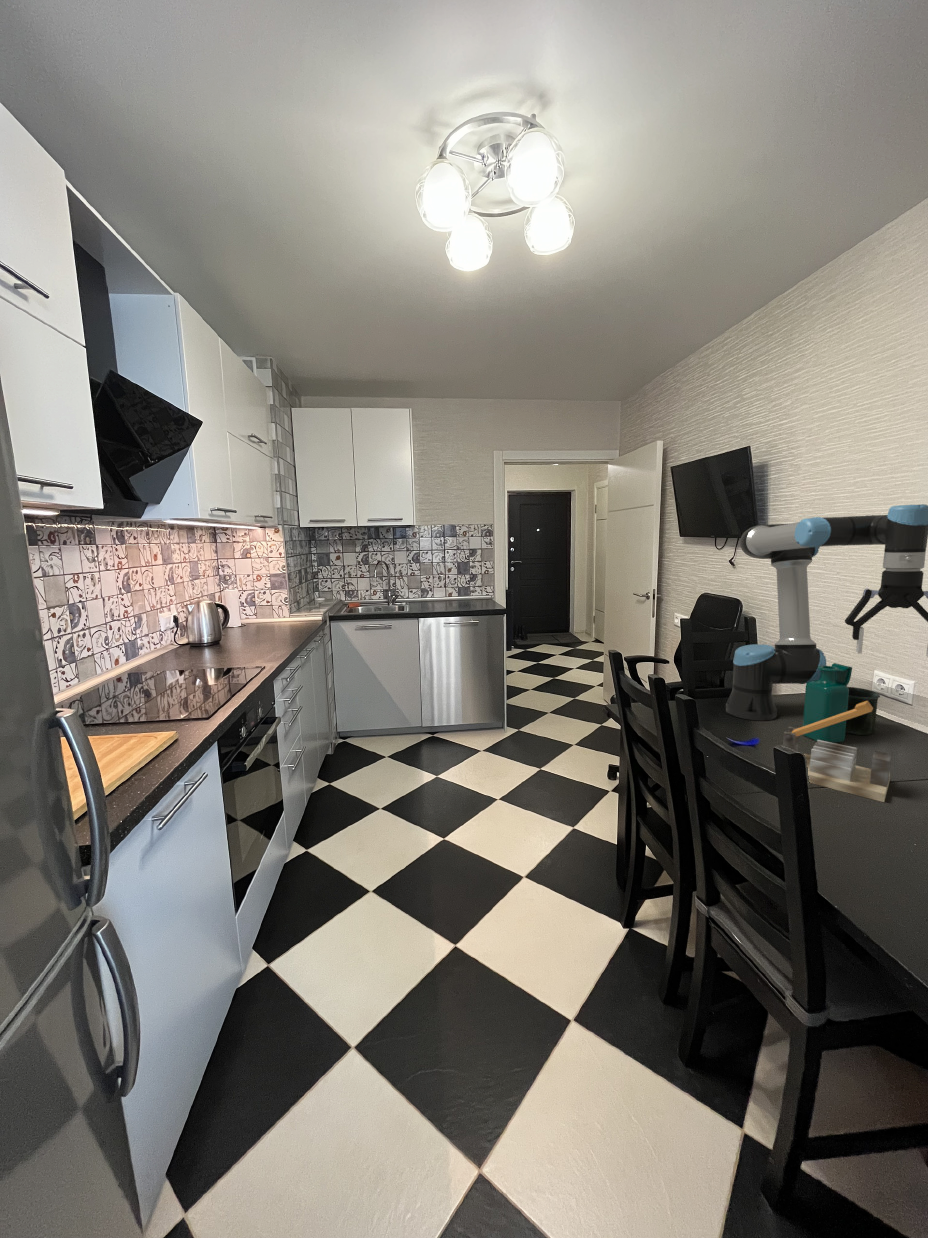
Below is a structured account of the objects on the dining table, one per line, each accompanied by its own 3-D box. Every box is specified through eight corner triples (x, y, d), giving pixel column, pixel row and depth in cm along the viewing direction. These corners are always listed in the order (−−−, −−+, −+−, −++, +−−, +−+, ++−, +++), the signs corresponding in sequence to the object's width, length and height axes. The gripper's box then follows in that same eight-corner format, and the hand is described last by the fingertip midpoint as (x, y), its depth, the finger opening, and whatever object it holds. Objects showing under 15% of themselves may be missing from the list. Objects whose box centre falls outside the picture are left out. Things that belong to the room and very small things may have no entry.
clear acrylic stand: (776, 773, 124) (778, 736, 123) (788, 757, 133) (791, 722, 132) (884, 802, 110) (888, 760, 108) (889, 781, 119) (893, 742, 117)
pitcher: (824, 745, 140) (830, 671, 136) (798, 734, 148) (803, 664, 145) (852, 741, 142) (858, 668, 138) (825, 730, 150) (830, 661, 147)
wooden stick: (793, 737, 125) (788, 730, 125) (796, 734, 127) (791, 727, 127) (871, 711, 113) (866, 703, 113) (873, 708, 115) (867, 700, 116)
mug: (838, 734, 147) (841, 696, 145) (822, 717, 160) (825, 682, 159) (883, 738, 143) (886, 699, 141) (863, 721, 157) (866, 685, 155)
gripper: (840, 570, 121) (833, 653, 124) (980, 570, 108) (968, 663, 112) (836, 568, 127) (829, 647, 131) (967, 568, 115) (956, 655, 118)
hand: (893, 655), depth 121 cm, fingers open, 13 cm apart
